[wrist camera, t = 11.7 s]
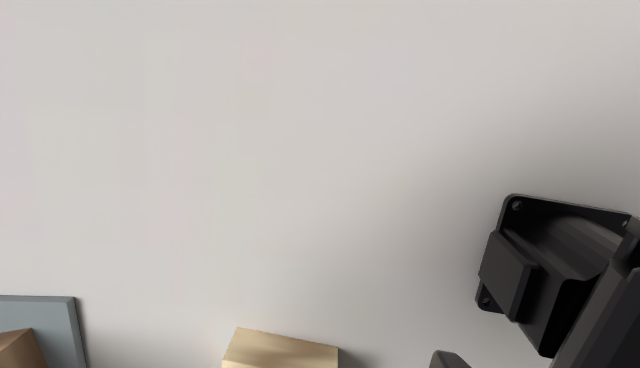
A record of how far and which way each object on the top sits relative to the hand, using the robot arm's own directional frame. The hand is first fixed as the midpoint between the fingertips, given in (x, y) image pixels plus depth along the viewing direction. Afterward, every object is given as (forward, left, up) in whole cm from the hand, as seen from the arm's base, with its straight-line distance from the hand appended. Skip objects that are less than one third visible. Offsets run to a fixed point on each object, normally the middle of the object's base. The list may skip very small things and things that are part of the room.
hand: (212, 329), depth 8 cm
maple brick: (-1, +11, -13) cm, 17 cm away
